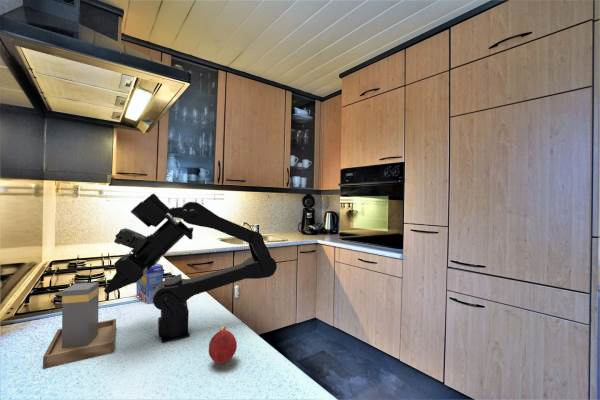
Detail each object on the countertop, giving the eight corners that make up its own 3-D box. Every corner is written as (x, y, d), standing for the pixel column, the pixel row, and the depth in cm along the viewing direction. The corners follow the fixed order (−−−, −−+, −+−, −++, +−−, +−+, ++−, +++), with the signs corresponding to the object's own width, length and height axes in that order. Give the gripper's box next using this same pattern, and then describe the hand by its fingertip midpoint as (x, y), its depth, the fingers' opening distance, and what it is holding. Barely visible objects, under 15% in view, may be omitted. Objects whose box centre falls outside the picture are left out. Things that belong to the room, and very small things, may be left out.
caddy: (98, 334, 69) (99, 282, 69) (87, 345, 64) (88, 289, 64) (74, 336, 68) (74, 283, 68) (61, 348, 63) (62, 291, 63)
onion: (237, 370, 57) (237, 331, 57) (207, 374, 56) (208, 334, 56) (235, 354, 63) (236, 319, 63) (208, 358, 61) (209, 322, 61)
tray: (116, 327, 75) (116, 318, 75) (113, 352, 63) (113, 341, 63) (57, 339, 69) (58, 329, 69) (42, 368, 57) (43, 357, 57)
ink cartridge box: (134, 297, 98) (135, 256, 98) (151, 293, 102) (151, 254, 102) (146, 304, 92) (147, 260, 92) (163, 300, 96) (164, 258, 96)
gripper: (148, 215, 78) (102, 256, 75) (125, 220, 60) (64, 274, 57) (178, 242, 80) (134, 283, 77) (165, 255, 62) (108, 308, 59)
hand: (113, 286), depth 68 cm, fingers open, 9 cm apart
